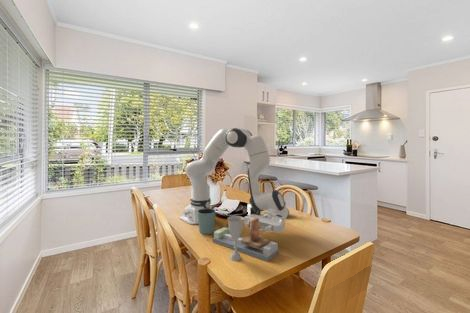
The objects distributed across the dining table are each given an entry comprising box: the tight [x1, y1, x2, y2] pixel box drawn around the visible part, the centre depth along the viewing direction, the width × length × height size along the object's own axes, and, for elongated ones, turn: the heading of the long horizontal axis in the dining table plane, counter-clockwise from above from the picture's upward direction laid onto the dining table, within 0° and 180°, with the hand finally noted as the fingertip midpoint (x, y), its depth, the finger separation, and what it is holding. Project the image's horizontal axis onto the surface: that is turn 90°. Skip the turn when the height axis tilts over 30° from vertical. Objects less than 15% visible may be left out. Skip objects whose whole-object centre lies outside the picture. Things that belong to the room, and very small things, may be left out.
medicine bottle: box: [246, 197, 261, 216], centre depth 161 cm, size 7×7×12 cm
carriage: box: [241, 218, 269, 249], centre depth 111 cm, size 10×8×12 cm
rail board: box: [212, 226, 279, 263], centre depth 115 cm, size 32×10×5 cm, turn 53°
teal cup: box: [197, 208, 216, 235], centre depth 134 cm, size 10×10×12 cm
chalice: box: [226, 215, 244, 262], centre depth 104 cm, size 7×7×18 cm
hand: (255, 227), depth 111 cm, fingers open, 8 cm apart
